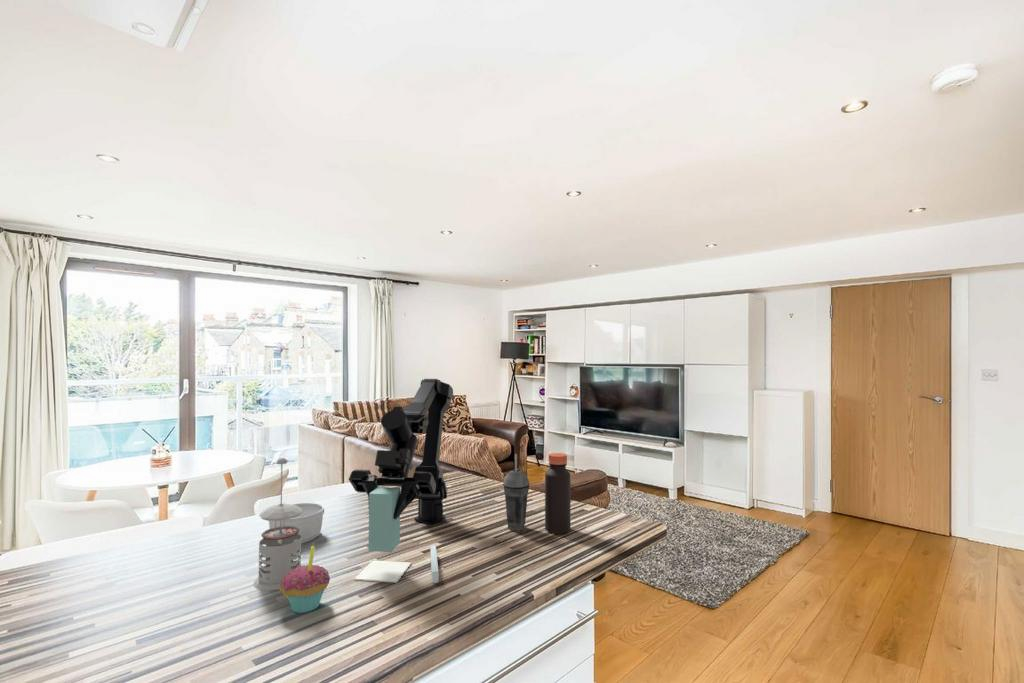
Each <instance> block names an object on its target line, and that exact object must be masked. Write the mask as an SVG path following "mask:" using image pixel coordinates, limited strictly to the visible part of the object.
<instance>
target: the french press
mask: <svg viewBox="0 0 1024 683" xmlns="http://www.w3.org/2000/svg"><path fill="white" fill-rule="evenodd" d="M287 463H288V461H287V458H285V457H279V458H278V459H277V462H276V464H277V465H281V466H280V503H278V504H274V505H271V506H269V507H266V508H265V509H264V510H262V511H261V512H260V513H259V515H258V516H259V517H260V518H261V519H262V520H264V521H267V522H269V521H275V528H271V529H270V528H269V529H266V530H264V531H263V532H262V533H261V537H262V539H260V540H259V542H258V545H259V546H258V551H259V552H258V576H257V577H256V579H255V580H254V582H253V584H252V585H253V587H254V589H256V590H259V591H268V592H269V591H270V592H271V591H278V590H280V588H279V585H280V582H281V580H282V579H283V577H284V576H285V575H286V573H289V571H291V570H292V569H294V568H296V567H299V566H302V564H301V561H302V557H301V556H302V551H301V550H302V545H301V544H302V543H301V536H300V535H299V534H298V532H299V530H300V529H299V528H297V527H294V526H285V527H284V522H285V520H286V519H291V518H294V517H297V516H298V515H300V514H301V512H302V509H301V508H300V507H298V506H296V505H291V503H283V502H282V501H283V465H286V464H287ZM281 520H283V527H282V526H281ZM276 521H280V527H276ZM281 539H282V545H279V544H278V540H281ZM296 539H299V540H298V541H296V542H294V540H296ZM296 553H297V554H296ZM263 558H264V559H263ZM262 564H263V565H264V566H263V565H262Z"/></svg>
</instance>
